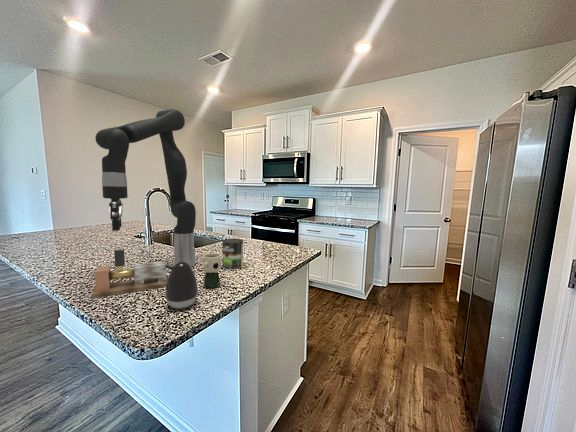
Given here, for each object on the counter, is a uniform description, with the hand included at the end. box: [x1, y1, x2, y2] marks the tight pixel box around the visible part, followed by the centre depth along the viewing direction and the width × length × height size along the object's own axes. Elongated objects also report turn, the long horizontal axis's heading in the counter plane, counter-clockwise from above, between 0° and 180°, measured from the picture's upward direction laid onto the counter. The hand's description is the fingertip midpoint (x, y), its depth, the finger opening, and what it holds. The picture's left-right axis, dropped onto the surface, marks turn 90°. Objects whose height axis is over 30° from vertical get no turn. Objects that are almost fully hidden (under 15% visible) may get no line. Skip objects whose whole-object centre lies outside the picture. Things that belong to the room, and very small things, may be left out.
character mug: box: [202, 252, 222, 289], centre depth 100 cm, size 11×7×13 cm, turn 166°
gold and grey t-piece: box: [109, 248, 135, 281], centre depth 94 cm, size 13×3×11 cm, turn 121°
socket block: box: [94, 265, 112, 292], centre depth 92 cm, size 4×6×8 cm, turn 31°
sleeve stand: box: [90, 260, 169, 300], centre depth 96 cm, size 25×10×8 cm, turn 121°
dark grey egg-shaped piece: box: [164, 262, 199, 310], centre depth 83 cm, size 10×10×15 cm
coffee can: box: [221, 238, 244, 271], centre depth 124 cm, size 10×10×14 cm
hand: (117, 228), depth 92 cm, fingers open, 8 cm apart
